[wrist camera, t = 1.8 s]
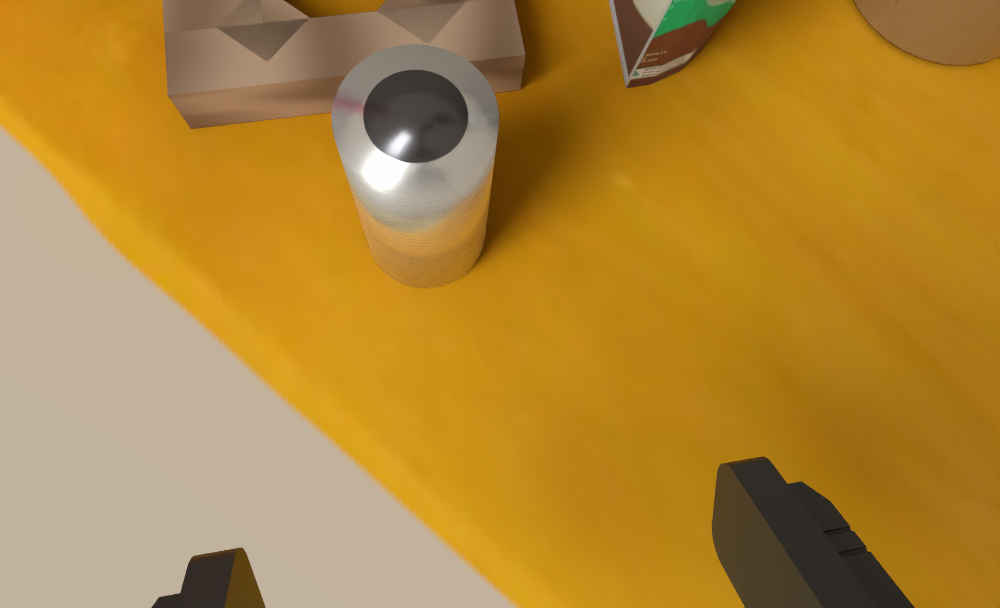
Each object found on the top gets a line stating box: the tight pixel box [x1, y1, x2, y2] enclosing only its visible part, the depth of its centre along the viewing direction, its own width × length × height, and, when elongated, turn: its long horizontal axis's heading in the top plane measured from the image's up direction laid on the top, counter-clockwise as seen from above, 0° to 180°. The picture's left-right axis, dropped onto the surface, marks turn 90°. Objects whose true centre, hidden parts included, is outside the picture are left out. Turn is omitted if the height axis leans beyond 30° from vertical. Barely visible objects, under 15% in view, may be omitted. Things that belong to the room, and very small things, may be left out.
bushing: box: [331, 44, 499, 288], centre depth 25 cm, size 5×5×9 cm
